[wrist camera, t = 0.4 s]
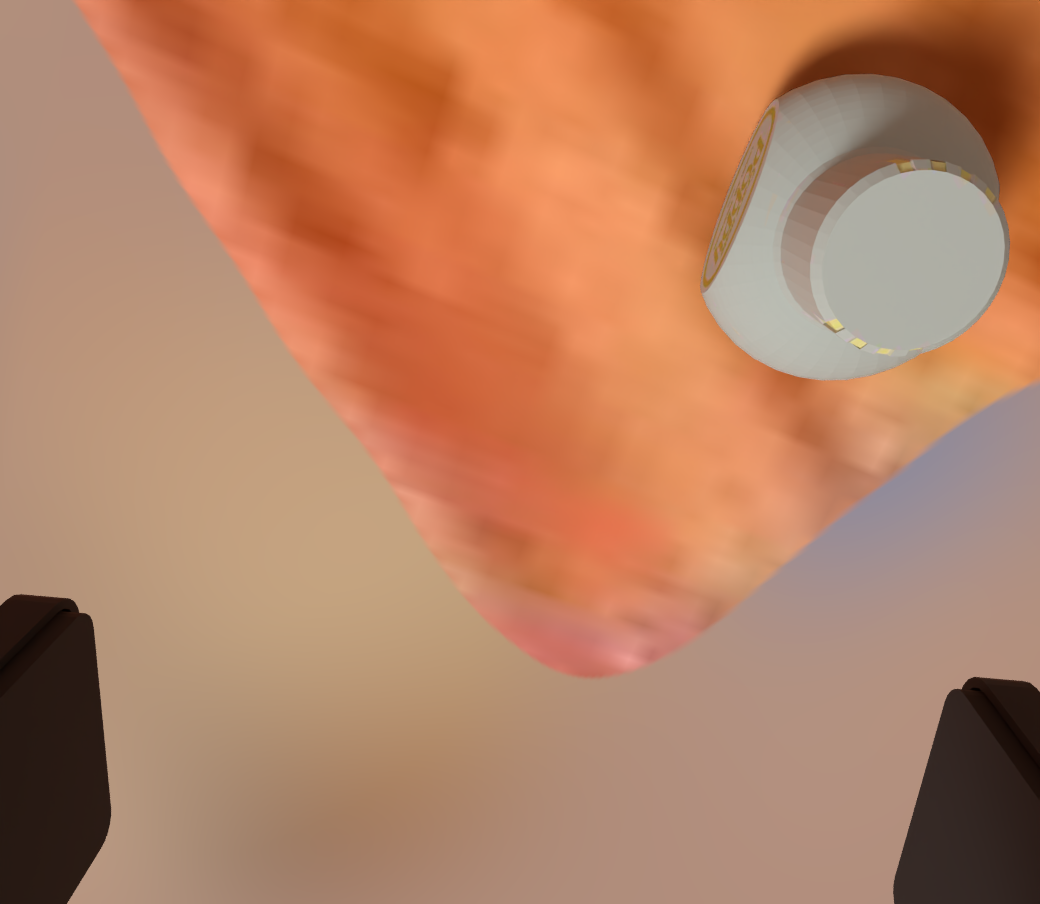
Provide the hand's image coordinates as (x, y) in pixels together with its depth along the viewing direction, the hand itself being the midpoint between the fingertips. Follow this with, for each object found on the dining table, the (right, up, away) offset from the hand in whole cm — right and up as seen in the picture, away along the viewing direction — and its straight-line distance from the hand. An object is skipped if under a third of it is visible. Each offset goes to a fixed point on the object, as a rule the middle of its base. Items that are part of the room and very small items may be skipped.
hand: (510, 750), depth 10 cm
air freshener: (+12, +12, +27) cm, 32 cm away
